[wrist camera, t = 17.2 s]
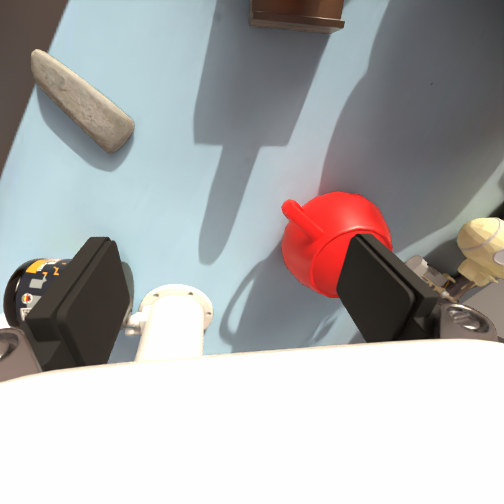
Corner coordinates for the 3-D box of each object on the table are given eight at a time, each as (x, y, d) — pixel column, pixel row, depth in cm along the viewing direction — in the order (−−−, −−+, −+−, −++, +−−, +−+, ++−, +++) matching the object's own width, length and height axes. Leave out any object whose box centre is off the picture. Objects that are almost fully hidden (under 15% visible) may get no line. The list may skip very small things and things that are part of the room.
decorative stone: (12, 72, 25) (42, 32, 24) (19, 73, 26) (48, 34, 25) (110, 158, 31) (138, 128, 30) (113, 155, 32) (140, 126, 31)
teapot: (237, 225, 39) (247, 274, 29) (314, 141, 34) (359, 165, 24) (336, 298, 50) (368, 352, 40) (405, 243, 45) (462, 288, 35)
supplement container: (53, 256, 40) (135, 256, 42) (53, 325, 40) (135, 321, 42) (-4, 259, 29) (109, 259, 31) (-3, 352, 29) (109, 346, 31)
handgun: (474, 219, 41) (399, 284, 46) (517, 266, 48) (448, 318, 53) (459, 212, 43) (390, 275, 48) (502, 258, 50) (438, 308, 55)
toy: (509, 205, 36) (428, 285, 40) (606, 280, 36) (517, 353, 40) (467, 204, 44) (404, 270, 48) (546, 265, 45) (477, 326, 48)
